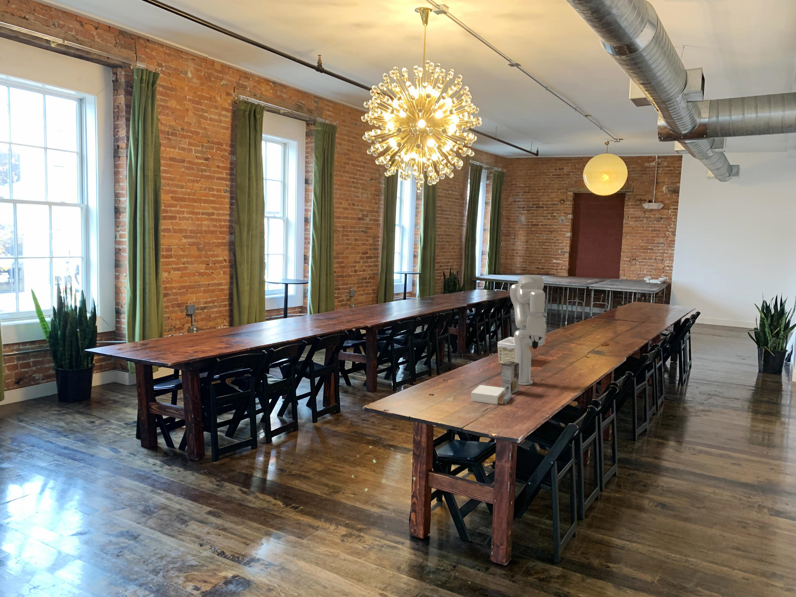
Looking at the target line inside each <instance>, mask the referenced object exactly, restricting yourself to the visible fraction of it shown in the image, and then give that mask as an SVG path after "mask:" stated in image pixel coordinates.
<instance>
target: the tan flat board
mask: <svg viewBox="0 0 796 597" xmlns="http://www.w3.org/2000/svg"><path fill="white" fill-rule="evenodd" d="M511 399H512V394H509V393H506V394H505V396H500V397H499V398H498V404H502V405H508V403H509V402H510V401H511Z"/></svg>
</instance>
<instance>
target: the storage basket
mask: <svg viewBox="0 0 796 597" xmlns="http://www.w3.org/2000/svg"><path fill="white" fill-rule="evenodd" d="M530 347H531V346H527V348H528V349H529V350H530ZM497 353H498V354H497V356H498V363H499V364H503V363H506V362H509V361H512V362H515V342H514V336H513V337H512V336H509V337H506V338H504V339H502V340H500V341H497Z"/></svg>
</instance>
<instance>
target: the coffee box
mask: <svg viewBox="0 0 796 597" xmlns="http://www.w3.org/2000/svg"><path fill="white" fill-rule="evenodd" d="M500 378H501V382H500V387H501V388H505V394H508V393H509V394H511V395H512V394H513V393H514V394H515V393H517V392H519V363H516V362H512V361H509V362H506V363H501V377H500Z"/></svg>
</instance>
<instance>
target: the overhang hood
mask: <svg viewBox="0 0 796 597" xmlns="http://www.w3.org/2000/svg"><path fill="white" fill-rule="evenodd" d="M500 396H506V393H505V388H501V386H500V387H499V386H491V385H485V384H479V385H478V386H477V387H476V388H474V389H473V390H472V391H471V392H470V401H471V402H478V403H483V404H491V405H498V404H499V403H498V398H499V397H500Z"/></svg>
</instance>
